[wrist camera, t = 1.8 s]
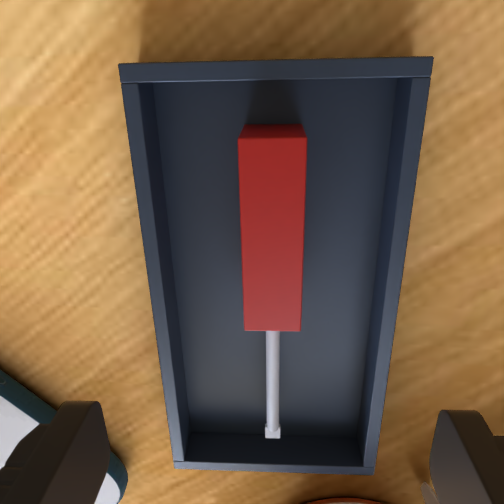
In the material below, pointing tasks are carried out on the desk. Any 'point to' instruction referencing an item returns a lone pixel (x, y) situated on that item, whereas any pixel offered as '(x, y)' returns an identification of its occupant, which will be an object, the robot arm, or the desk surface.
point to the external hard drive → (37, 411)
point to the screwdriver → (272, 240)
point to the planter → (344, 501)
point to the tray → (314, 260)
